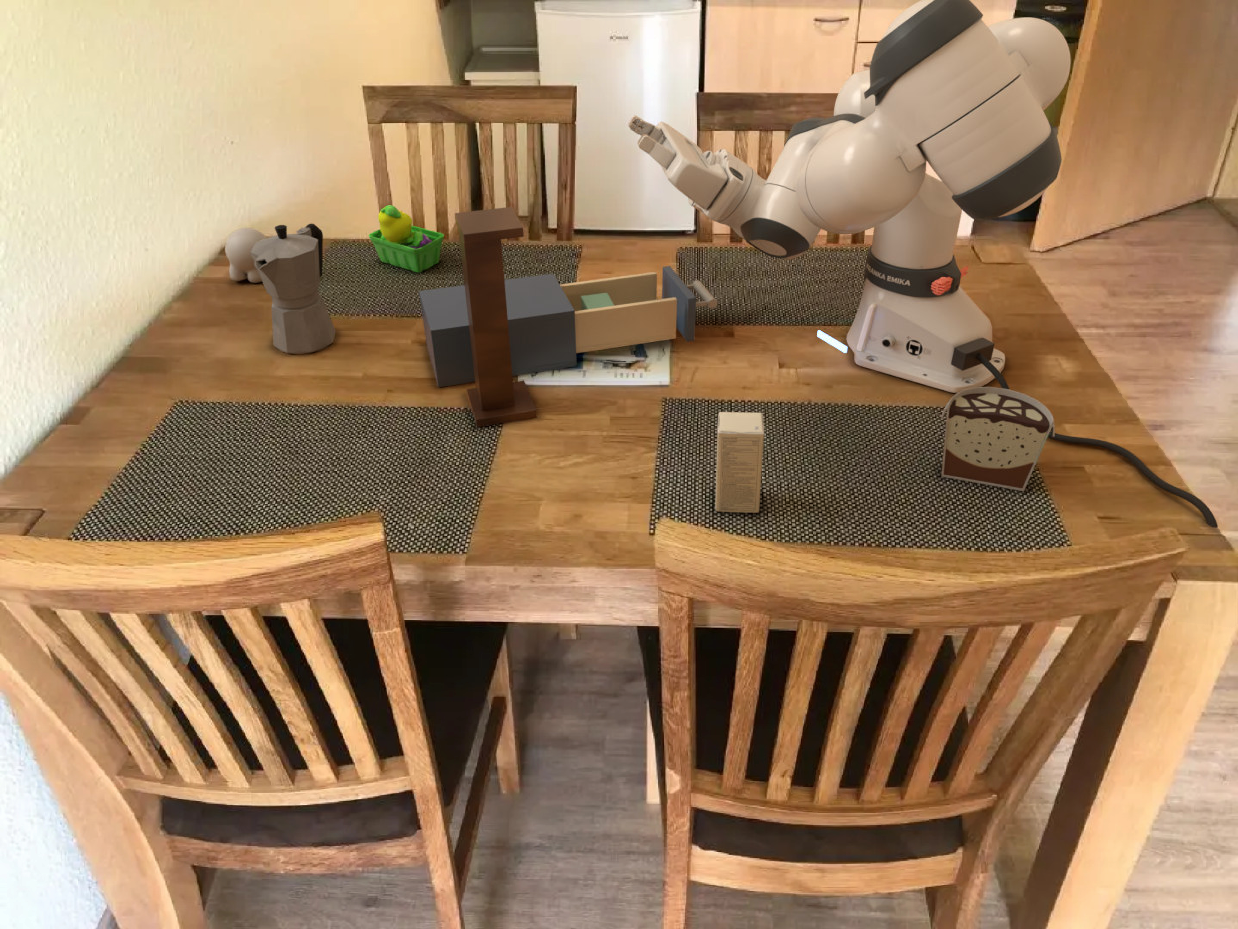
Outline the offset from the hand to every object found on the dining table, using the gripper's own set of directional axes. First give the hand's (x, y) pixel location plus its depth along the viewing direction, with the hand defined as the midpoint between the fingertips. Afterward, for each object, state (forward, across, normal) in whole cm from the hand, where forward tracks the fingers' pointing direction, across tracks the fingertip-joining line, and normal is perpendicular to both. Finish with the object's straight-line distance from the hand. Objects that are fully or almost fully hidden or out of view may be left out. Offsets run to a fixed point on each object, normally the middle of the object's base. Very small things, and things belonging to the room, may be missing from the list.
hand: (635, 129), depth 132 cm
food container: (-48, +42, +5) cm, 64 cm away
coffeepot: (+24, -5, +52) cm, 58 cm away
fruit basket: (+13, -30, +44) cm, 55 cm away
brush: (-14, +2, +24) cm, 28 cm away
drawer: (-16, +2, +24) cm, 29 cm away
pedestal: (0, +19, +37) cm, 41 cm away
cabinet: (0, +5, +36) cm, 37 cm away
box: (-22, +44, +23) cm, 54 cm away
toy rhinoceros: (+32, -27, +57) cm, 71 cm away
